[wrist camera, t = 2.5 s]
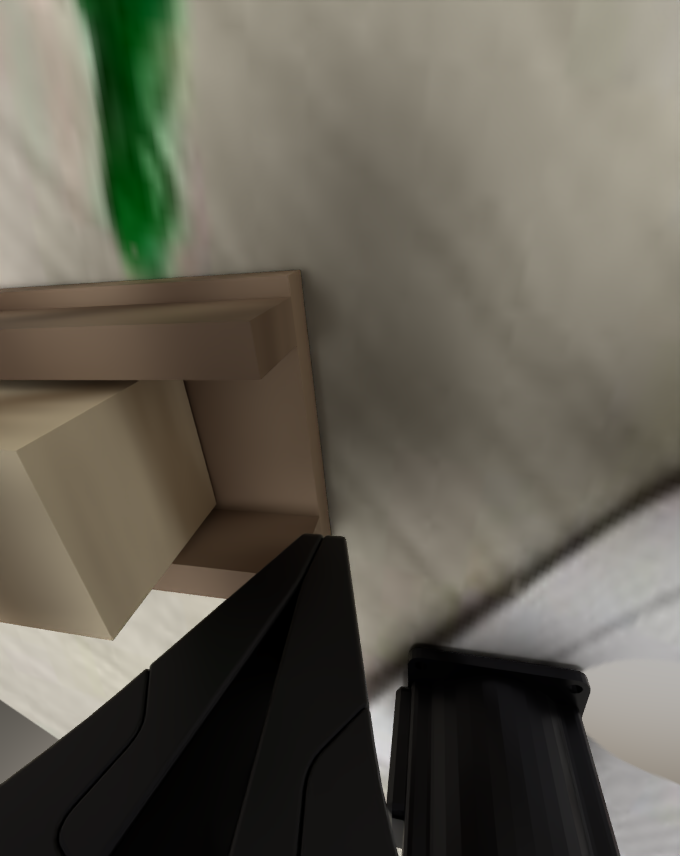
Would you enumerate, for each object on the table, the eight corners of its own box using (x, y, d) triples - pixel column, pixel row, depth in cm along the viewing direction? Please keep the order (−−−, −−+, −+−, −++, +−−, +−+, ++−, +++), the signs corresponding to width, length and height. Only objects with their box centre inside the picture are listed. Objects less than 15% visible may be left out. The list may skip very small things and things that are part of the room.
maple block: (177, 359, 11) (16, 450, 7) (216, 503, 14) (112, 640, 9) (31, 361, 12) (-186, 441, 8) (90, 494, 15) (-55, 612, 10)
